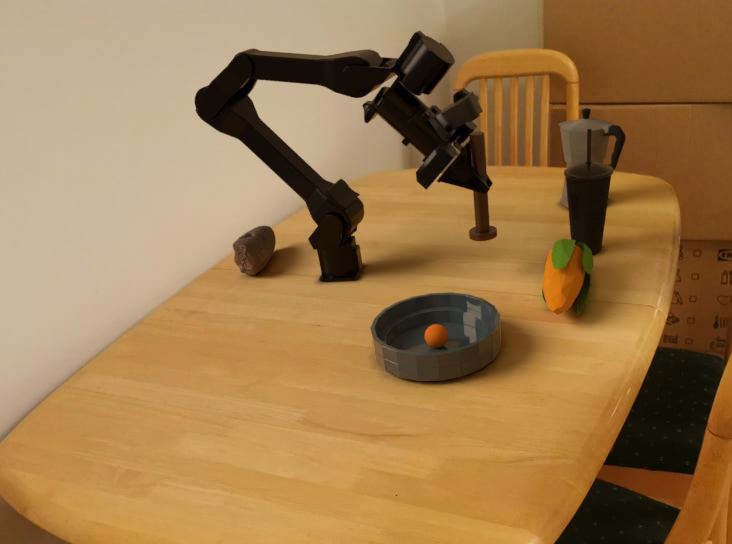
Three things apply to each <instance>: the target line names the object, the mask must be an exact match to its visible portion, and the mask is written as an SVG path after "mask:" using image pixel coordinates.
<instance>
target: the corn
mask: <svg viewBox="0 0 732 544" xmlns="http://www.w3.org/2000/svg"><path fill="white" fill-rule="evenodd" d="M575 241H576V240H571V238H561V239H558V240H555V241H554V244H553V247H552V248H551V249H550V250H549V251H548V254H547V257H546V261H545V268H544V274H543V278H542V284H541V286H542V287H541V288H542V289H541V290H542V291H541V293H542V298H543V301H544V303H546V306H547V309H548V310H550V311H551V312H552V313H555V314H556V315H560V314H562V313H564V312H566V311H568V310H569V309H571V308H572V306H573V304H574V302H575V301H576V299H577V301H576V311H575V314H576V315H577V316H579V315H580V314H581V312H582V311H583V308H584V306H585V305H586V302H587V300H588V298H589V293H590V289H591V283H592V282H591V281H592V273H593V269H594V266H595V265H594V256H593V255H592V252H591V250H590V249H589V248H588V247H587V246H586V245H585V244H584V243H583V242H578V243H577V244H576V245H575Z"/></svg>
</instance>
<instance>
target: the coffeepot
mask: <svg viewBox="0 0 732 544" xmlns="http://www.w3.org/2000/svg"><path fill="white" fill-rule="evenodd" d="M591 111H592V110H591V108H588V107H584V108H583V109H581V115H582V118H579V119H573V120H567V121H562V122H560V123H557V126H558V127H559V130H560V137H561V143H562V145H561V146H562V151H563V157H564V162H565V163H567V165H566V169H567V168H568V167H571V166H573V165H575V164H577V163H580V162H585V161H586V160H587V129H592V135H591V161H596V162H601V163H603V164H604V160H605V159H606V157H607V152H608V148H609V142H610V137H611V136H612V137H613V136H614V137H615V142H614V147H613V150H612V151H613V152H612V153H611V156H610V164H608V165H609V166H611V167H612V168H613V171H615V170H616V168H617V165H618V162H619V159H620V157H621V154H622V151H623V148H624V146H625V142H626V140H627V136H626V133H625V131H624V130H623V129H622V127H621V126H620V125H617V124H613V122H611V121H608V120H605V119H603V118H593V117H590V115H591ZM608 201H609V196H608ZM560 204H561V205H562V206H563V207H564V208H566V209H568V198H567V186H566V177H565V176H564V179H563V185H562V190H561V197H560Z"/></svg>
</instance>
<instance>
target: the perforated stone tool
mask: <svg viewBox="0 0 732 544" xmlns="http://www.w3.org/2000/svg"><path fill="white" fill-rule="evenodd" d="M276 240H277V239H276V233H275V231H274V230H273V228H272V227H271V226H270V225H259V226H256V227H253V228H252V229H250V230H249V231H246V232H245V233H243V234H242V235H241V236H239V237H238V238H237V239H236V240H234V242H233V243H232V248H233V251H234V257H233V262H234V264H235V265H236V266H237V267H238V269H239V271H240V273H241V274H245V275H250V276H251V275H252V276H255V275H256V274H258V273H259V272H261V271H262V270H264V268H265V267H266V266H267V264H268V263H269V262H270V260H271V258H272V256H273V254H274V252H275V249H276V248H275V247H276V243H277V242H276Z"/></svg>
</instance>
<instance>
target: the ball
mask: <svg viewBox="0 0 732 544" xmlns="http://www.w3.org/2000/svg"><path fill="white" fill-rule="evenodd" d="M447 340H448V332H447V330H446V329H445V328H444V327H443V326H442V325H439V324H434V325H431V326H429V327H428V328H427V330H426V331H425V341H426V343H427V344H428V345H429V346H431V347H433V348H439V347H442V346H443V345H445V344H446V342H447Z"/></svg>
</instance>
